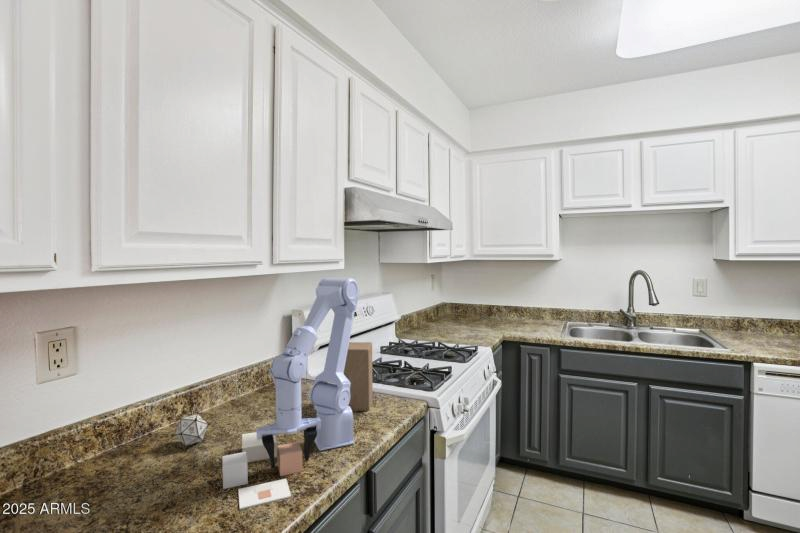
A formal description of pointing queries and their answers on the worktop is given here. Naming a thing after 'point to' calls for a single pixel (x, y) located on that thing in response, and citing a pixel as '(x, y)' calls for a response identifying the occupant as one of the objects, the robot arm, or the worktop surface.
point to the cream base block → (255, 447)
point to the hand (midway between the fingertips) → (289, 462)
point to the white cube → (235, 470)
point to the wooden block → (359, 375)
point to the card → (263, 493)
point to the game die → (191, 429)
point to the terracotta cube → (289, 458)
